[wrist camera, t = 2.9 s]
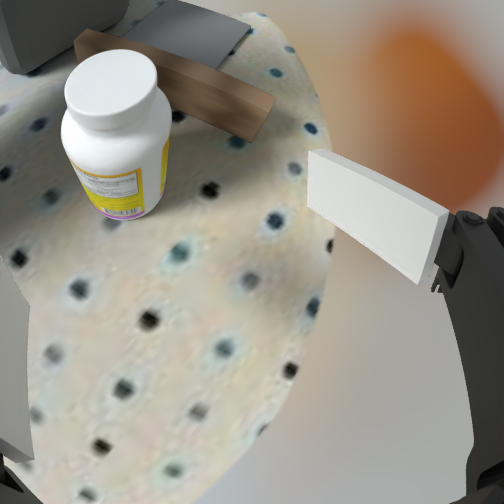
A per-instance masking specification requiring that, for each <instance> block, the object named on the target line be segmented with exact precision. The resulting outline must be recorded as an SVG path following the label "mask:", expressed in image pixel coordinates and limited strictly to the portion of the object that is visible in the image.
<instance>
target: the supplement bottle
mask: <svg viewBox="0 0 504 504" xmlns="http://www.w3.org/2000/svg"><path fill="white" fill-rule="evenodd" d="M65 99H66V103H67V107H68V108H67V110H66V112H65V114H64V117H63V120H62V125H61V138H62V143H63V146H64V149H65V151H66V154H67V156H68V158H69V160H70V162H71V164H72V166H73V168H74V170H75V172H76V174H77V176H78V178H79V180H80V182H81V184H82V186H83V188H84V190H85V191H86V194H87V195H88V197H89V199H90V201H91V202H92V204H93V205H94V207H95V208H96V209H97V210H98V211H99V212H100V213H101V214H103V215H104V216H106V217H109V218H111V219H115V220H132V219H136V218H139V217H141V216H143V215H145V214H147V213H148V212H149V211H151V210H152V209H153V208H154V207H155V206H156V205H157V203H158V202H159V201H160V199H161V197H162V195H163V193H164V189H165V184H166V174H167V162H168V150H169V140H170V132H171V123H172V113H171V107H170V104H169V101H168V99H167V97H166V96H165V94H164V93H163V92H162V91H161V90H160V89H159V88H158V87H157V70H156V67H155V65H154V64H153V62H152V61H151V60H150V59H149V58H148V57H146V56H145V55H143V54H141V53H138V52H135V51H132V50H123V49H118V50H110V51H105V52H101V53H99V54H96V55H93V56H91V57H89V58H88V59H86V60H84V61H83V62H82V63H80V64H79V65H78V66H77V67H76V68H75V69H74V70H73V71H72V73H71V74H70V76H69V77H68V79H67V81H66V84H65Z"/></svg>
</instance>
